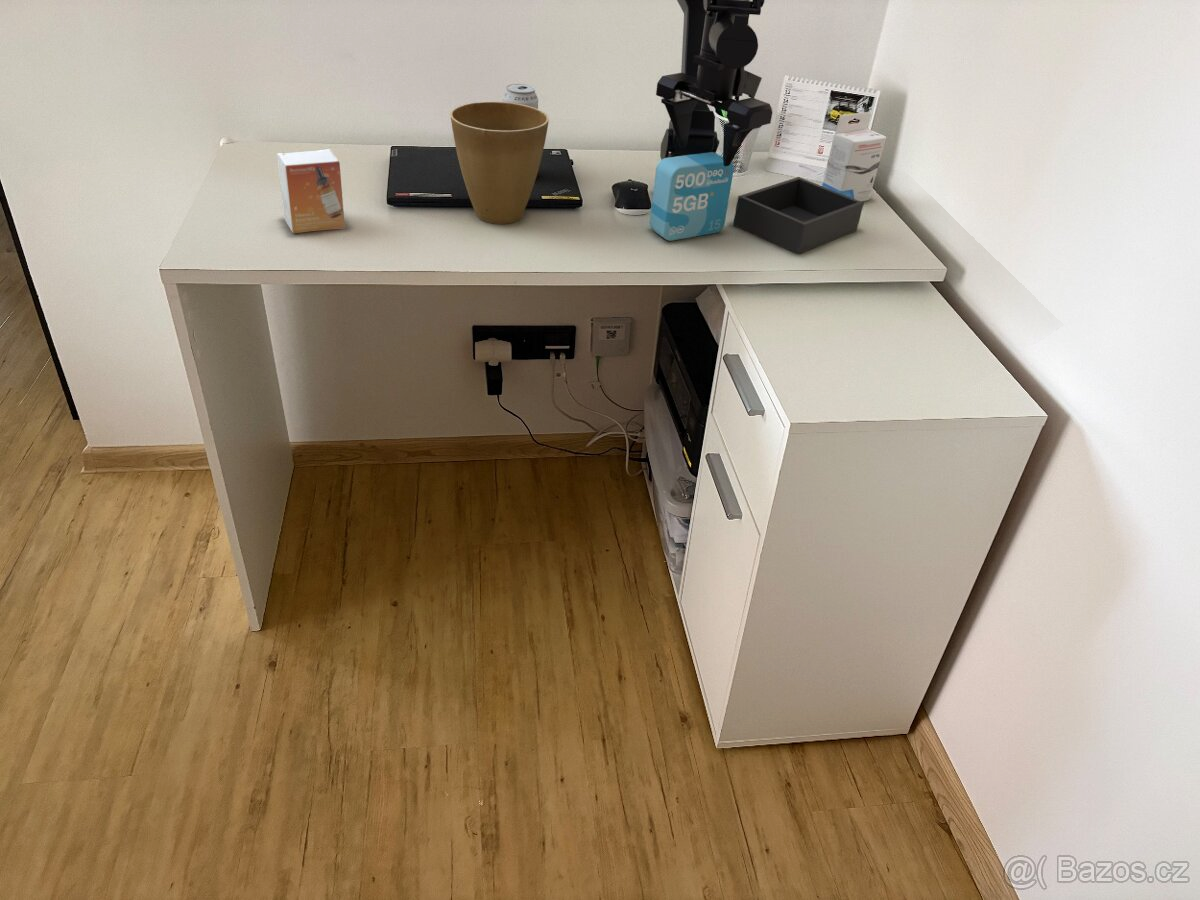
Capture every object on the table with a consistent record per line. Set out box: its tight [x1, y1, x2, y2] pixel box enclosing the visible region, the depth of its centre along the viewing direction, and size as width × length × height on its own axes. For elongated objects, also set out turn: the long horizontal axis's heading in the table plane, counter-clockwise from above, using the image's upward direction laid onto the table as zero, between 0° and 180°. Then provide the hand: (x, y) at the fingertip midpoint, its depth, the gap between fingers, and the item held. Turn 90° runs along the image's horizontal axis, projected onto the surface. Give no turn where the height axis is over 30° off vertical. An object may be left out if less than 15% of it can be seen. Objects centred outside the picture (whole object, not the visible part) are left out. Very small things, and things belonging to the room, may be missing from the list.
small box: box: [276, 148, 346, 234], centre depth 137 cm, size 8×6×10 cm
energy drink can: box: [502, 83, 539, 110], centre depth 159 cm, size 6×6×15 cm
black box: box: [732, 176, 865, 255], centre depth 153 cm, size 14×17×5 cm
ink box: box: [821, 111, 887, 202], centre depth 163 cm, size 8×5×15 cm, turn 123°
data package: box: [649, 152, 735, 242], centre depth 146 cm, size 12×4×12 cm, turn 120°
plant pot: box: [449, 101, 550, 225], centre depth 144 cm, size 15×15×16 cm
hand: (704, 156), depth 142 cm, fingers open, 9 cm apart
